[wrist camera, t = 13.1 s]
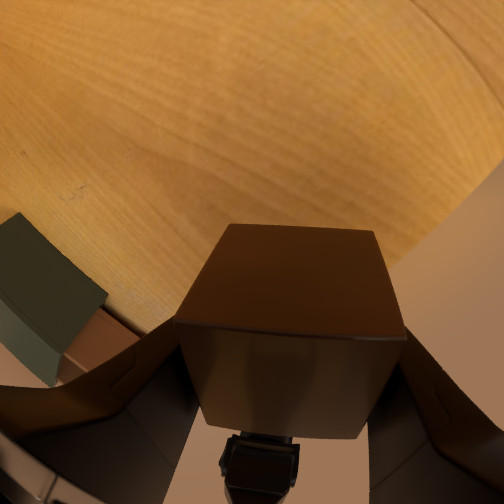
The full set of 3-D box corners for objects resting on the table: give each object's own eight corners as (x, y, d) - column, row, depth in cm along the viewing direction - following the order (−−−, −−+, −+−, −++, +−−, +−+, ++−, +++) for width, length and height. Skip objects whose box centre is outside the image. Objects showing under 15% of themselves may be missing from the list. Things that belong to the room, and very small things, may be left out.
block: (374, 229, 8) (409, 337, 5) (352, 335, 10) (357, 440, 7) (228, 222, 9) (169, 319, 5) (238, 327, 11) (205, 425, 8)
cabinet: (108, 294, 28) (60, 355, 20) (86, 341, 34) (52, 389, 27) (19, 211, 25) (-38, 253, 17) (14, 274, 32) (-26, 313, 24)
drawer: (201, 371, 30) (180, 428, 24) (161, 397, 36) (142, 440, 30) (68, 272, 27) (25, 316, 20) (56, 320, 32) (26, 357, 26)
